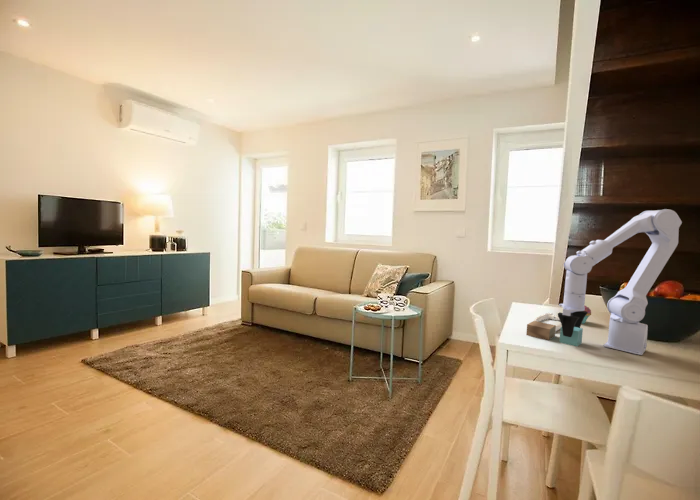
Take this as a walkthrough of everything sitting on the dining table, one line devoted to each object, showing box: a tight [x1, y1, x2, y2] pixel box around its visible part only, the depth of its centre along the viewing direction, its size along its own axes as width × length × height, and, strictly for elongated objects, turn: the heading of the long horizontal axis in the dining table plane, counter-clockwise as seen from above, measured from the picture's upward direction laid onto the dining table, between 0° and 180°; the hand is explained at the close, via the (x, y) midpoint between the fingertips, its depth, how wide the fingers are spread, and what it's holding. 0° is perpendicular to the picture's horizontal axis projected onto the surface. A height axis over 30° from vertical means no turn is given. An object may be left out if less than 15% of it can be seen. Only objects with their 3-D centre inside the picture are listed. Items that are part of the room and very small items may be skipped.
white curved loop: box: [533, 312, 562, 333], centre depth 134 cm, size 3×10×25 cm
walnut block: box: [525, 320, 557, 341], centre depth 120 cm, size 7×7×4 cm
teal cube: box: [559, 327, 584, 347], centre depth 113 cm, size 5×5×5 cm
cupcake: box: [581, 304, 592, 325], centre depth 139 cm, size 9×8×12 cm
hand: (570, 334), depth 113 cm, fingers open, 7 cm apart
